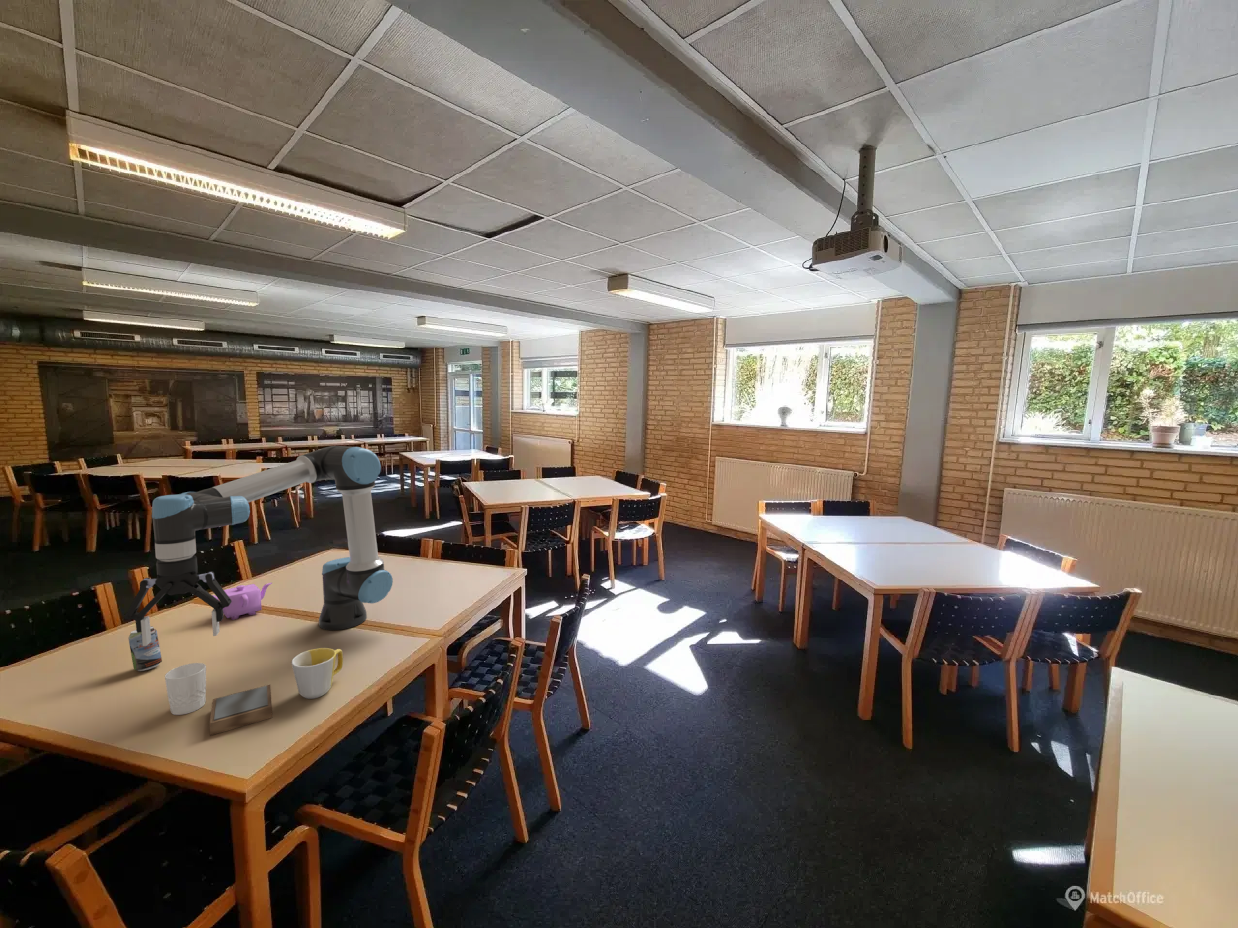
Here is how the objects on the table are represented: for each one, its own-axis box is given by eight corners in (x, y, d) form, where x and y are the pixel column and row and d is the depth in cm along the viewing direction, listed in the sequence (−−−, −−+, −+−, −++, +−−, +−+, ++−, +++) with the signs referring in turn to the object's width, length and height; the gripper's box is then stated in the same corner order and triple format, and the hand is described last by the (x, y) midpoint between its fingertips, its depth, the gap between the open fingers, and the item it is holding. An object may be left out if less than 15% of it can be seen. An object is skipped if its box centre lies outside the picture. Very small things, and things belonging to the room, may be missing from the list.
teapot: (239, 605, 190) (238, 578, 189) (274, 606, 190) (272, 579, 189) (206, 622, 175) (204, 593, 174) (244, 623, 175) (242, 594, 174)
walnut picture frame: (271, 694, 133) (270, 683, 132) (272, 717, 123) (271, 705, 123) (213, 710, 125) (212, 697, 125) (210, 735, 116) (209, 722, 116)
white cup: (184, 698, 130) (181, 663, 129) (216, 697, 131) (213, 662, 130) (159, 717, 122) (156, 679, 121) (193, 716, 123) (190, 678, 122)
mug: (307, 708, 127) (305, 670, 126) (285, 696, 132) (283, 659, 131) (357, 683, 139) (355, 648, 138) (335, 673, 144) (333, 639, 143)
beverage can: (144, 674, 141) (141, 635, 139) (124, 671, 142) (121, 632, 141) (168, 664, 147) (165, 625, 146) (149, 661, 148) (146, 623, 147)
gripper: (242, 548, 131) (246, 624, 133) (116, 558, 120) (123, 641, 122) (235, 555, 124) (239, 635, 127) (100, 567, 113) (108, 654, 115)
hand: (182, 638), depth 124 cm, fingers open, 13 cm apart
